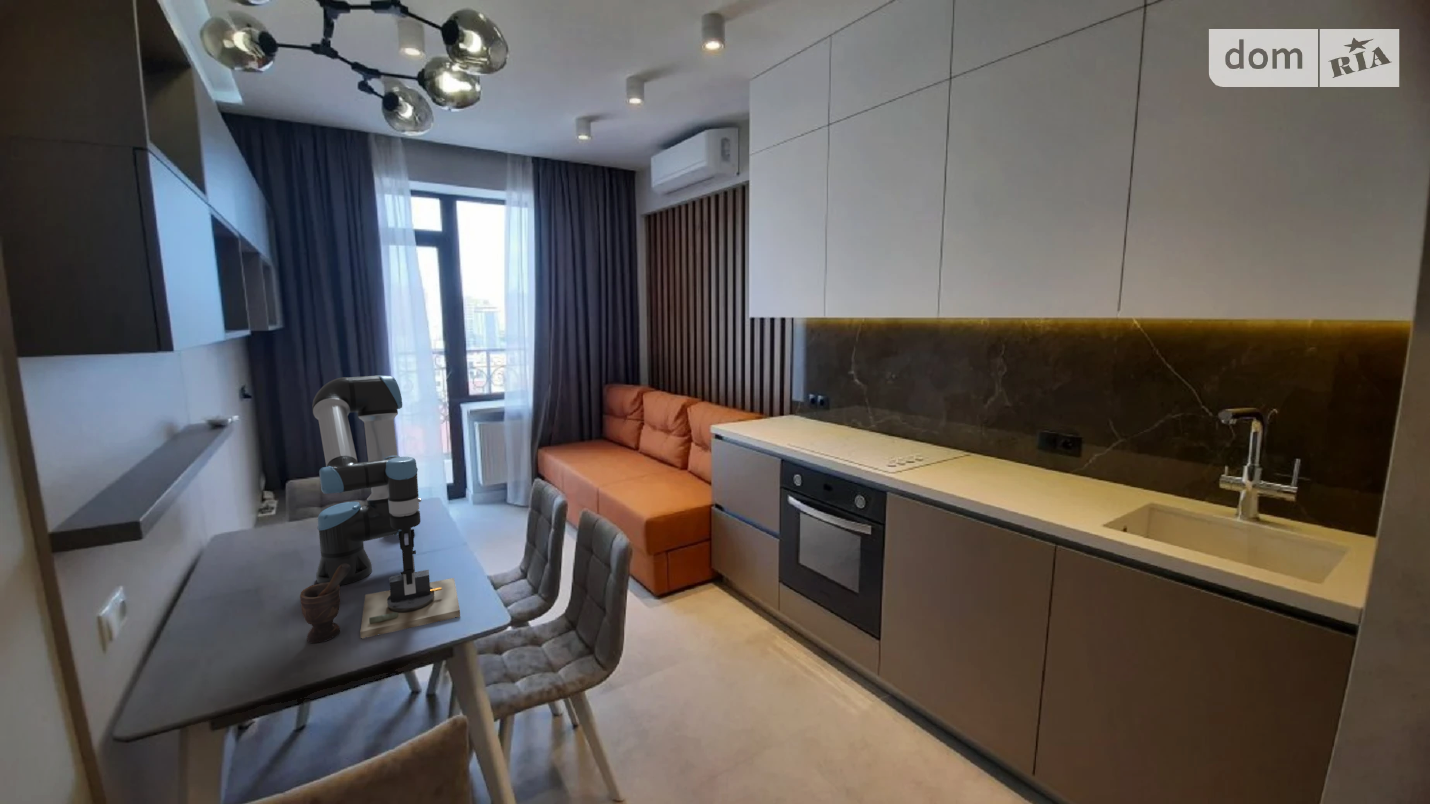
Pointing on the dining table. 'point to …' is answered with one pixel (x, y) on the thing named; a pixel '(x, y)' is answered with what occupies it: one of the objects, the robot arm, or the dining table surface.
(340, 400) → the robot arm
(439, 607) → the base plate
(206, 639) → the dining table surface
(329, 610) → the mortar and pestle
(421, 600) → the dial knob
